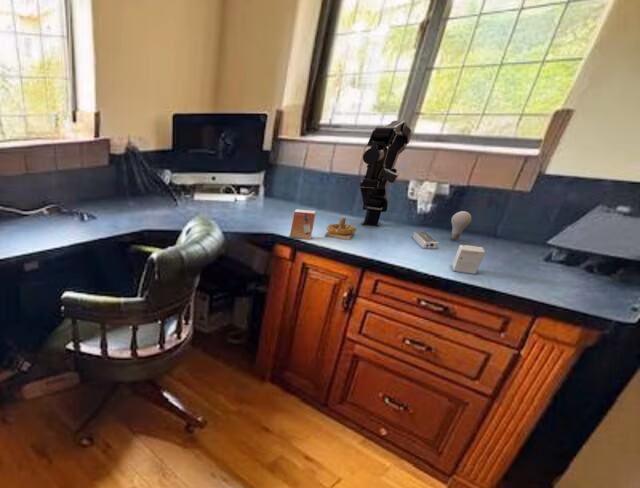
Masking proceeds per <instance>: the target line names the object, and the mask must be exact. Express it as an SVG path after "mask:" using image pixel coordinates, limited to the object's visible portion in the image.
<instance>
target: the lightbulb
mask: <svg viewBox="0 0 640 488" xmlns="http://www.w3.org/2000/svg"><path fill="white" fill-rule="evenodd" d="M450 220H451V226H452V230H451V236H450V239H452V240H453V241H456V240H459V239H460V237H461V234H462V233H463V231H464V230H465V228H466V227H467V226H468V225H469V224H471V222H472V215H471V214H470V213H469V212H468V211H463V210H461V211H458V212H456V213H454V214H453V215H452V217H451V219H450Z"/></svg>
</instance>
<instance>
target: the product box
mask: <svg viewBox="0 0 640 488" xmlns="http://www.w3.org/2000/svg"><path fill="white" fill-rule="evenodd" d="M485 254H486V253H485V249H484V247H483V246H477V245H466V244H460V245H459V247H458V249H457V252H456V254H455V257H454V259H453V262H452V271H453V272H458V273H459V272H460V273H465V274H471V275H472V274H473V275H477V273H478V271H479V268H480V265H481V263H482V260H483V258H484V255H485Z"/></svg>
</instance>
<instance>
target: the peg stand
mask: <svg viewBox="0 0 640 488" xmlns="http://www.w3.org/2000/svg"><path fill="white" fill-rule="evenodd" d="M339 218H340V219H339V222H338V224H339V227H338V228H339V229H344V225H345V224H346V220H347V219H346V217H345V216H344V217H339ZM353 236H354V234H350V235H337V234H333V233H330V232H328V231H327V232H326V233H325V237H326V238H334V239H342V240H350V239H351V238H352V237H353Z"/></svg>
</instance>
